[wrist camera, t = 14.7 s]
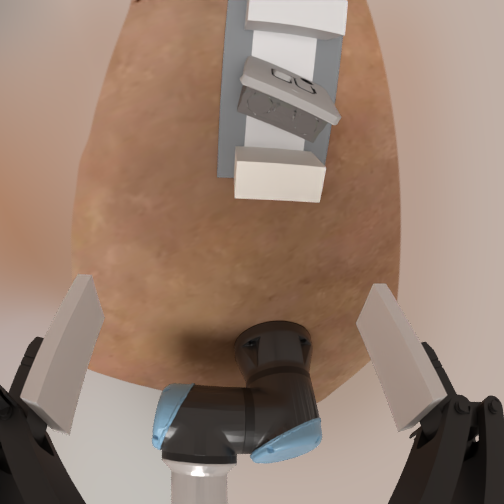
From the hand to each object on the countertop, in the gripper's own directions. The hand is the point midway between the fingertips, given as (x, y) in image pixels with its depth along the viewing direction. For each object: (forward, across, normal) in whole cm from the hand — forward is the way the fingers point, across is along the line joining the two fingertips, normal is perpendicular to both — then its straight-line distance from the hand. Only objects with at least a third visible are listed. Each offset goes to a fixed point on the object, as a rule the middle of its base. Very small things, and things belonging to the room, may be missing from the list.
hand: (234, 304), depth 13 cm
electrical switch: (+24, -5, -9) cm, 26 cm away
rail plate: (+25, -5, -9) cm, 27 cm away
